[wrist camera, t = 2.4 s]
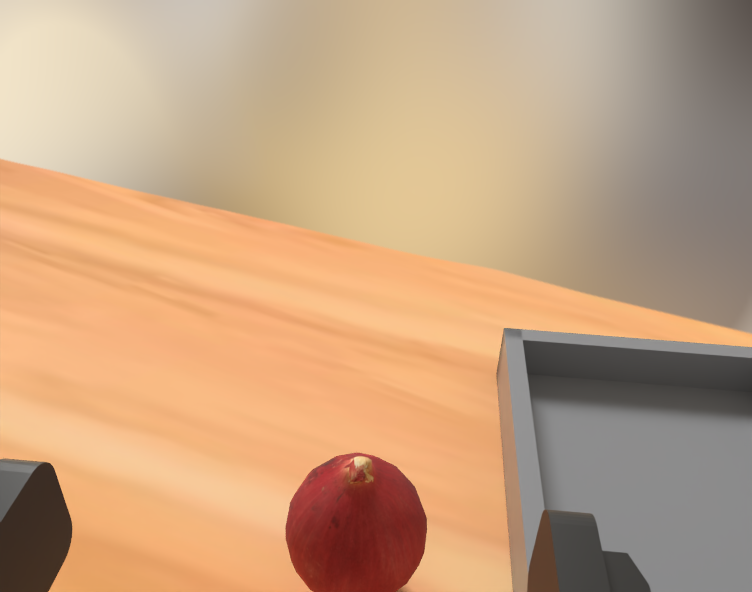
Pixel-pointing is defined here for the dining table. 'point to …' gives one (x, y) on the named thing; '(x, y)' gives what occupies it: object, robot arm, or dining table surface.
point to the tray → (632, 451)
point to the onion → (356, 526)
